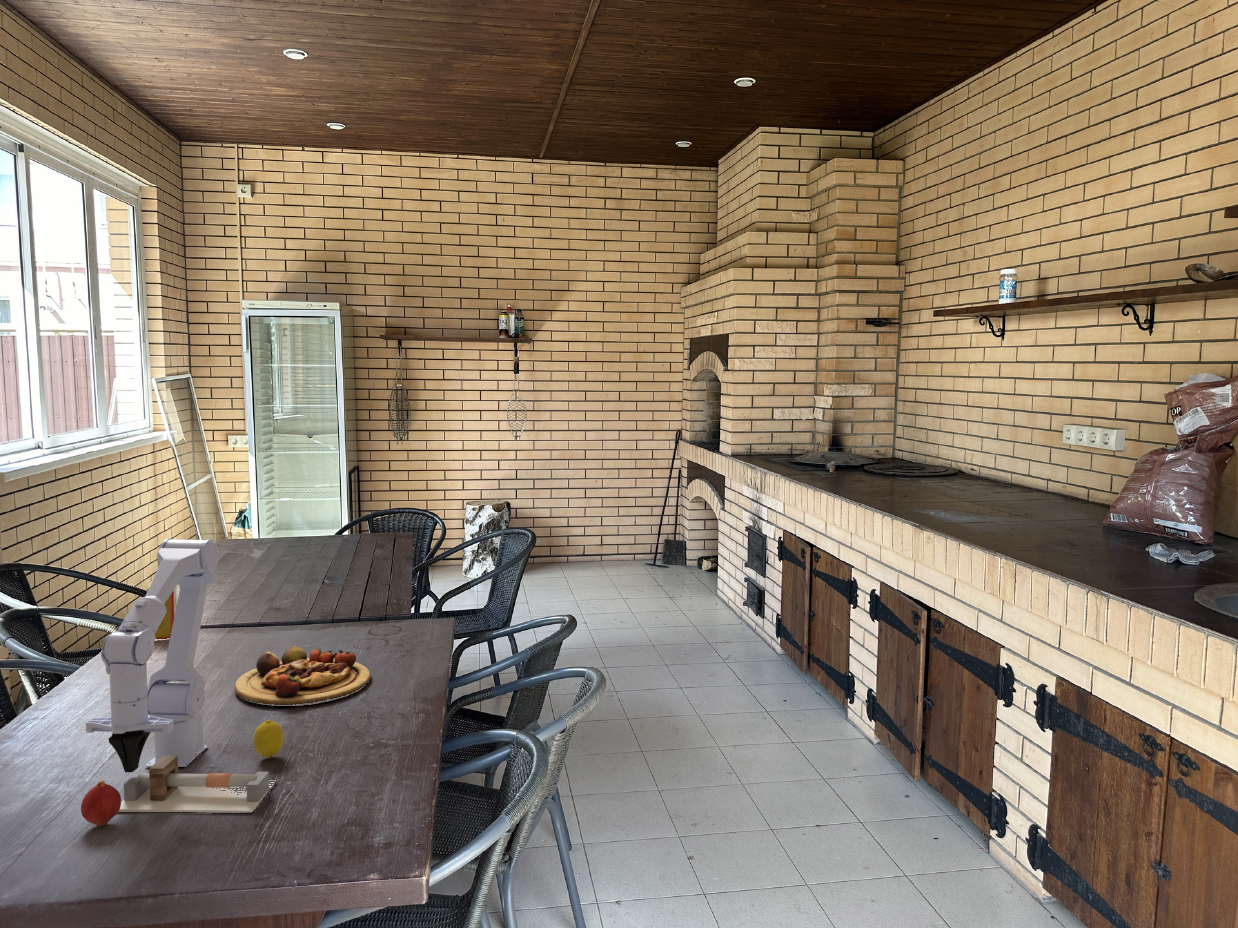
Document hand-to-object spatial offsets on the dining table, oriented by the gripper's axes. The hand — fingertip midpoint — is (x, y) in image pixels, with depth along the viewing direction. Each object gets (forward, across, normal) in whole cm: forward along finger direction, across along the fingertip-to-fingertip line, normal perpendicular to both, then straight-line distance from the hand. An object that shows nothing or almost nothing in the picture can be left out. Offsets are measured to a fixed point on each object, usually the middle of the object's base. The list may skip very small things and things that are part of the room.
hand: (131, 769), depth 149 cm
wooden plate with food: (+6, +11, +57) cm, 58 cm away
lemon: (+5, +18, +16) cm, 25 cm away
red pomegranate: (+5, 0, -10) cm, 11 cm away
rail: (+5, +12, 0) cm, 13 cm away
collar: (+5, +6, 0) cm, 8 cm away
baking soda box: (+5, -43, +94) cm, 103 cm away
